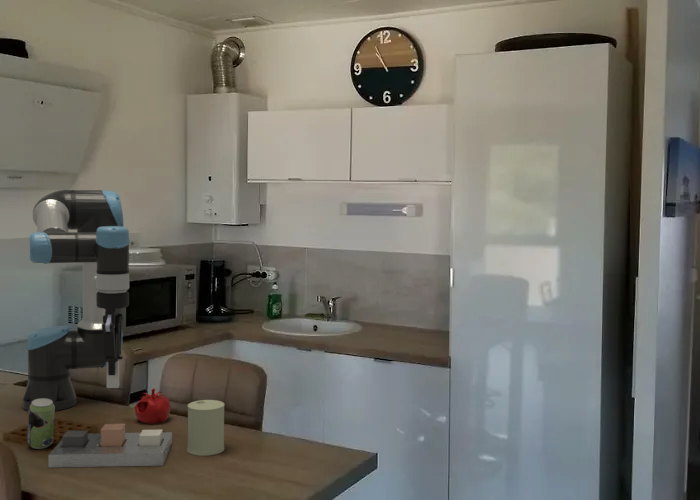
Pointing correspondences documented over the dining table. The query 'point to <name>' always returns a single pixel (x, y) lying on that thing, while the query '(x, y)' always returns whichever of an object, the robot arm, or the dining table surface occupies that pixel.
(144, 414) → the pomegranate
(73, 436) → the charcoal key
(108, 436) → the terracotta key
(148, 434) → the cream key
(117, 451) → the key panel
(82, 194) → the robot arm
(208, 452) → the can
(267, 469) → the dining table surface
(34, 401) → the beverage can
